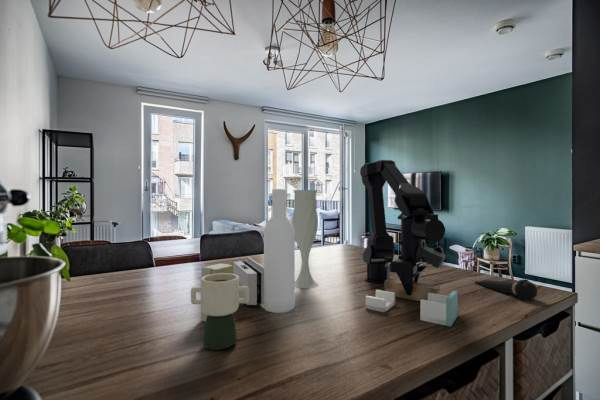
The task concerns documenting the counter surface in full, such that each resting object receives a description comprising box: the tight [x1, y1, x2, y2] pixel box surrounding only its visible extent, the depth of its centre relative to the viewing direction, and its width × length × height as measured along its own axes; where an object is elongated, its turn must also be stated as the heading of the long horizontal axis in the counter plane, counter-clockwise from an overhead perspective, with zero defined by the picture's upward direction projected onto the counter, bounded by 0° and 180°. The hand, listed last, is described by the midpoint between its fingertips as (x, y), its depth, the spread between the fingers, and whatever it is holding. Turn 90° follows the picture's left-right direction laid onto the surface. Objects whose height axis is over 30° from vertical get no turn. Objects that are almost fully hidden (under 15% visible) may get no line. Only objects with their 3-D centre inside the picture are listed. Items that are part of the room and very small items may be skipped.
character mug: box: [190, 273, 249, 351], centre depth 64 cm, size 11×7×13 cm, turn 94°
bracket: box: [233, 256, 264, 306], centre depth 92 cm, size 17×5×10 cm, turn 23°
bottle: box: [263, 188, 296, 314], centre depth 85 cm, size 8×8×30 cm
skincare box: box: [200, 262, 234, 323], centre depth 78 cm, size 6×4×12 cm
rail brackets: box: [364, 289, 459, 327], centre depth 82 cm, size 20×8×6 cm, turn 55°
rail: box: [383, 278, 441, 302], centre depth 93 cm, size 14×4×4 cm, turn 55°
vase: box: [292, 189, 319, 289], centre depth 107 cm, size 9×8×30 cm
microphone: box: [474, 279, 538, 301], centre depth 100 cm, size 6×6×20 cm
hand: (411, 293), depth 93 cm, fingers closed on rail, 3 cm apart
